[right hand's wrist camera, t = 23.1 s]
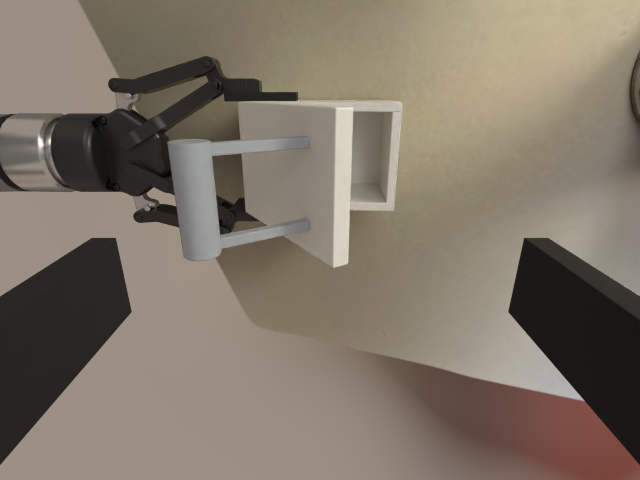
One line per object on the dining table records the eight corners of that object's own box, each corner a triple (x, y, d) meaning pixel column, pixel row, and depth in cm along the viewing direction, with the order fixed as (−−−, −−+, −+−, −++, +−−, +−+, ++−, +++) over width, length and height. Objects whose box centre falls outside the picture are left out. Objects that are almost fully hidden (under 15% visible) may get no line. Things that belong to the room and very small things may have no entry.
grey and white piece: (354, 106, 21) (178, 111, 16) (348, 264, 25) (203, 306, 20) (251, 101, 32) (129, 102, 28) (257, 209, 36) (151, 227, 31)
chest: (390, 100, 40) (402, 102, 32) (384, 189, 44) (393, 211, 36) (264, 99, 41) (246, 101, 33) (269, 187, 44) (253, 208, 36)
